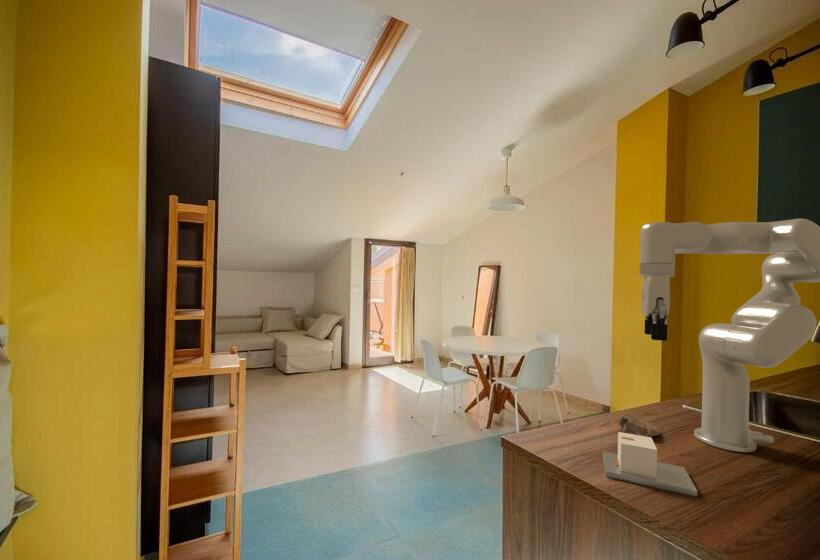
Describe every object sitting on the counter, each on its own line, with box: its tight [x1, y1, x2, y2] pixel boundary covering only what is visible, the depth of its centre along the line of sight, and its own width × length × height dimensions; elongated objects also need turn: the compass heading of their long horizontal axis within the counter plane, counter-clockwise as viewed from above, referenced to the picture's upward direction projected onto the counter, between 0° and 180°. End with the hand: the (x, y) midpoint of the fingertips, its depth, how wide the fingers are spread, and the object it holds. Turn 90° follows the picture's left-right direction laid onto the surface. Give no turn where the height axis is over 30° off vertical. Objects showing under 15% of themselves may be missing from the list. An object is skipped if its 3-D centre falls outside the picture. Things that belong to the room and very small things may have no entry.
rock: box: [618, 413, 661, 438], centre depth 102 cm, size 9×6×10 cm
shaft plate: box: [602, 451, 698, 497], centre depth 80 cm, size 16×10×4 cm, turn 65°
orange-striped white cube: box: [617, 431, 658, 478], centre depth 81 cm, size 7×7×6 cm
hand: (655, 337), depth 94 cm, fingers open, 9 cm apart
